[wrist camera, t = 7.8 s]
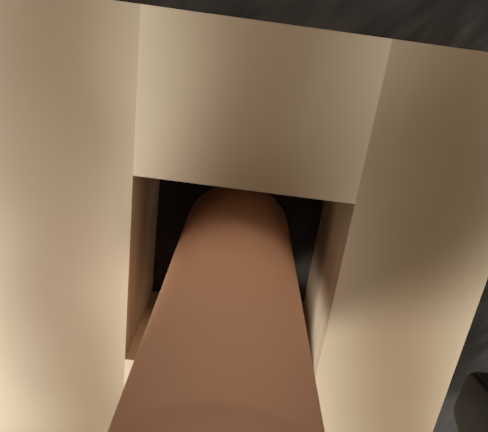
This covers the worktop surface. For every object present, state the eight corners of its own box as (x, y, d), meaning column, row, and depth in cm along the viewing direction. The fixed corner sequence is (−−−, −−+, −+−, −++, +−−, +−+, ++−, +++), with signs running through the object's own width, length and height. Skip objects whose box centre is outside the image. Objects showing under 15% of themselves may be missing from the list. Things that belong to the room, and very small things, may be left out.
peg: (182, 270, 15) (91, 562, 7) (190, 176, 14) (94, 386, 6) (279, 282, 15) (311, 585, 7) (295, 189, 14) (357, 416, 6)
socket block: (48, 364, 17) (-2, 444, 13) (38, -6, 12) (-41, -22, 9) (380, 403, 17) (411, 491, 14) (484, 56, 13) (565, 62, 9)
